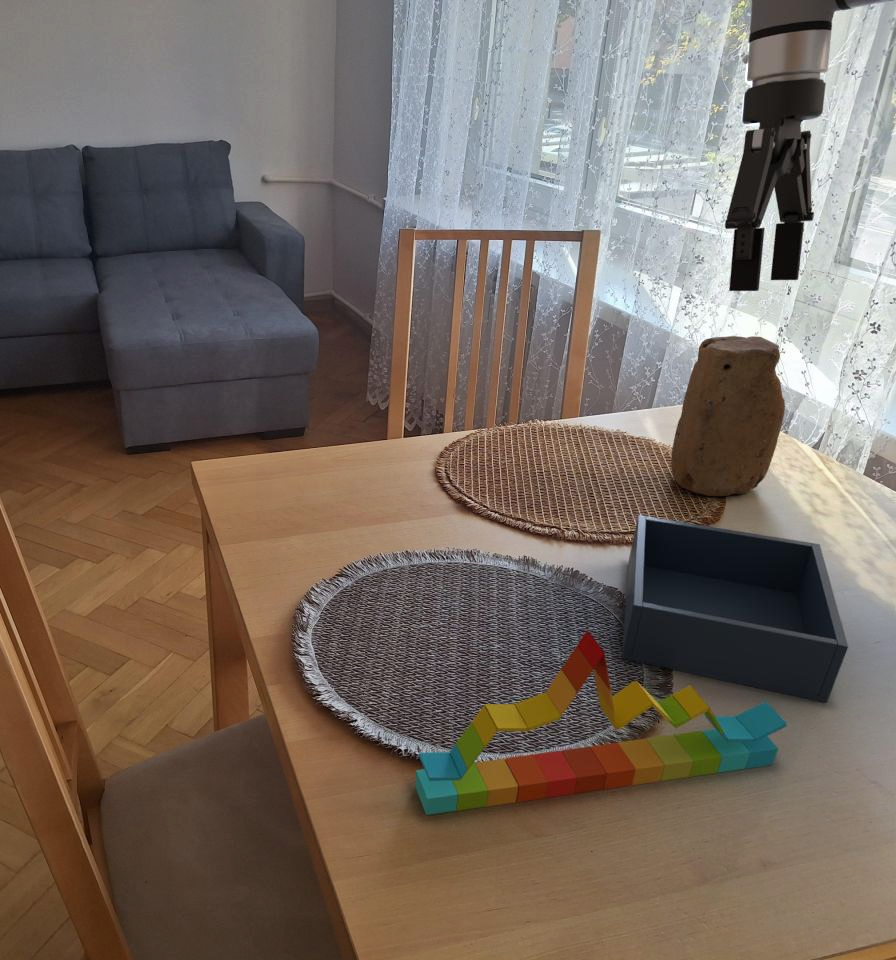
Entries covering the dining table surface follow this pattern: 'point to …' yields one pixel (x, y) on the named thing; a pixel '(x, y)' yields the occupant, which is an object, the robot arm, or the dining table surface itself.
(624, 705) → the chart
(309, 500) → the dining table surface
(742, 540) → the grey storage tray
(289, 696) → the dining table surface
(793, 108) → the robot arm
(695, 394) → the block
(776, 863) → the dining table surface
